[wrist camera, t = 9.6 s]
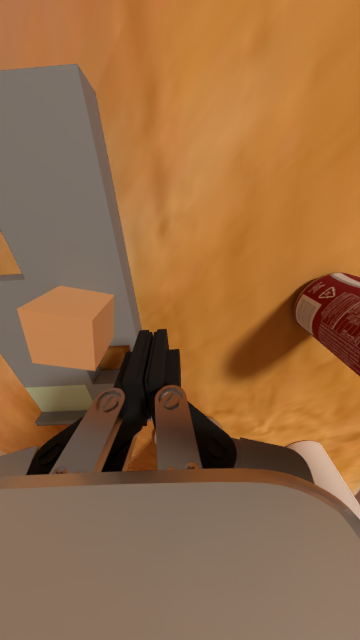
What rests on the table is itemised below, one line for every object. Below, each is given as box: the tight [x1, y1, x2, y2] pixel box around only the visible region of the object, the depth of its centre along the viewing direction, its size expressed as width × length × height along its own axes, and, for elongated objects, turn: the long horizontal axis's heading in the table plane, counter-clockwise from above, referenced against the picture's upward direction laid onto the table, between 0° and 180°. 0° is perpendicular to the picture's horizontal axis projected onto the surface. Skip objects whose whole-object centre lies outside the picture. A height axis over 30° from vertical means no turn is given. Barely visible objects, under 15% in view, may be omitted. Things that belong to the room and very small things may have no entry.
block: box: [17, 286, 114, 371], centre depth 16 cm, size 5×5×5 cm
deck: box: [0, 64, 152, 426], centre depth 19 cm, size 32×16×4 cm, turn 3°
